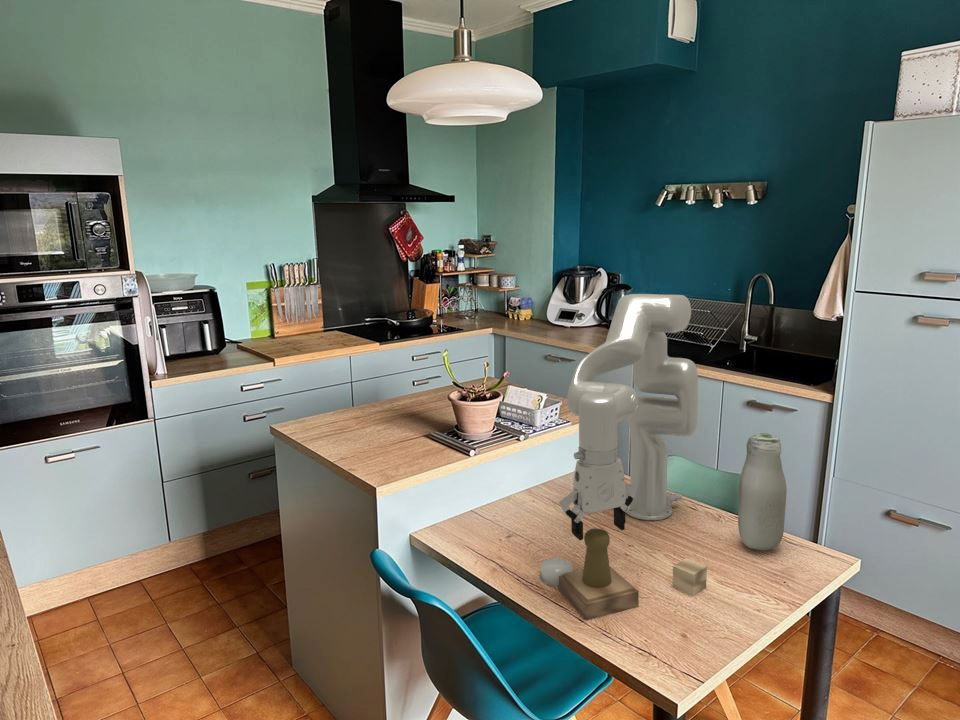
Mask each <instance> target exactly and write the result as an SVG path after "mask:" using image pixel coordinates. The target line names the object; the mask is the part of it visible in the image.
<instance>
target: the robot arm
mask: <svg viewBox="0 0 960 720" xmlns="http://www.w3.org/2000/svg"><path fill="white" fill-rule="evenodd" d="M689 300H690V299H688V297H687V296H685V295H683V294H657V293H655V294H654V293H653V294H652V293H631V294H626V295H623V296H621V297H620V298H619V299H618V301H617V304H616V306H615V310H614V313H613V317H612V320H611V323H610V327H609V330H608V332H607V336H606V339H605V342H604V343H602V344H601V345H599V346H597V347H596V348H595V349H593V350H592V351H590V352H589V353H588V354H587V355H586V356H585V357H583V359H582V360H580V361H579V362H578V364H577V366H576V367H575V370H574V373H573V376H572V378H571V381H570V384H569V387H568V392H567V398H566V399H567V400H566V401H567V407H568V408H567V409H568V410H569V411H570V413H571V414H572V415H574V416H577V417H578V449H577V450H578V451H577V452H574V453H573V458H574V459H575V460H576V464H575V466H574V467H575V468H574V474H573V484H572V485H573V487H572V492H570V493H569V494H567V495H566V496H564V498H562V499H561V500H559V502H558V505H559V506H560V508H561V510H562V512H563V513H564V514H565V515H566V516H567V517H568V518H570V519H571V521H570V522H571V533H572V535H573V536H574V537H575V538H576V539H577V540H579V541H582V540H584V522H583V521H582V519H583V517H584V516H585V514H587V515H591V514H595V513H600V512H605V511H609V510H613V525H614V527H617V528H618V529H619V530H620V531H625V530H626V529H625V528H626V527H625V525H626V514H627V515H628V516H629V517H632V518H634V519H639V520H642V521H643V520H644V521H661V520H664V519H667V518H669V517H670V516H672V514H673V507H672V505H671V504H672V503H673V502H680V501H682V500H683V496H682V494H681V493H674V494H672V493H673V492H671V491H668V454H669V453H668V447H667V444H666V442H665V441H664V439H663V437H662V436H661V435H663V436H664V435H665V436H673V437H682V438H683V437H690V436H692V435H694V433H695V432H696V430H697V426H698V405H699V404H698V401H699V400H698V399H699V398H698V397H699V395H698V394H699V380H698V379H699V377H698V375H699V372H698V367H697V366H696V364H695V362H694V361H692V360H691V359H689V358H683V357H671V356H669V355H668V338H667V335H666V333H669V334H671V333H672V334H673V333H675V334H676V333H679V332H682V331H684V330H685V329H686V328H687V327H688V325H689V323H690V320H691V317H692V306H691V303H690V301H689ZM630 365H632V380H633V384H634V385H633V386H634V387H635V388H633V387H632V386H630V385H627V384H624V383H623V384H622V383H610V382H600V381H594V380H595V379H596V378H597V377H600V376H601V375H603V374H607V373H609V372H613V371H616V370H619V369H622V368H625V367H627V366H630ZM636 390H637V391H638V392H642V393H647V394H654V395H655V394H657V395H666V396H667V395H669V396H674V397H676V398H673V397H672V398H671V397H664V396H662V397H661V396H650V395H649V396H648V395H646V396H645V395H642V396H641V395H640V396H638V394H637V392H636ZM626 421H627V423H628V427H629V429H628V430H629V437H630V438H629V440H630V463H629V464H630V469H629V470H630V474H629V475H630V477H629V478H630V479H629V480H630V481H629V483H626V478H625V477H626V476H625V472H624V466H623V463H622V459H621V458H620V457H618V424H620V423H623V422H626ZM572 503H573V505H574V506H573V507H572V509H571V508H570V505H571V504H572Z"/></svg>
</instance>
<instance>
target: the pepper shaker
mask: <svg viewBox="0 0 960 720" xmlns="http://www.w3.org/2000/svg"><path fill="white" fill-rule="evenodd" d="M610 539H611V538H610V535H609V533H608V531H606V530H605V529H602V528H597V527H596V528H591V529H588V530H587V531H586V532H585V534H584V535H583V541H584V544H585V546H586V550H585V558H584V564H583V569H584V570H583V577H582V581H583V583H584V584H586V585H587V586H590V587H594V588H603V587H607V586H609V585H610V584H611V582H612V581H611V573H610V567H611V566H610V561H609V560H610V559H609V552H608V547H609V545H610V541H611V540H610Z"/></svg>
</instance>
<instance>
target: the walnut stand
mask: <svg viewBox="0 0 960 720" xmlns="http://www.w3.org/2000/svg"><path fill="white" fill-rule="evenodd" d="M583 570H584V568H583V569H579V570H575V571H572V572H570V573H565V574H563V575H561V576H559V586H558V591H559V593H561V594H562V596H563V597H564V598H565V599H566V600H567V601H568V602H569V603H570V604H571V605H572V606H573V608H575V610H577V611H578V612H579V614H580V615H581V616H582V617H583V618H584V619H585V620H586V621H588V620H593V619H596V618H599V617H604V616H607V615H612V614H615V613H619V612H623V611H627V610H631V609H634V608H638V607H639V597H640V595H639V594H640V593H639V592H640V591H639V590H638V589H637V588H636V587H634V586H633V585H632V584H631V583H630V582H629V581H628V580H626V579H625V578H624V577H623V576H622V575H621V574H619V573H618V572H617V571H616V570H615V569H613V568H612V567H611V566H610V573H611V581H612V582H611V584H610V585H609V586H607V587H603V588H594V587H590V586H587V585H586V584H584V583H583V581H582V577H583Z"/></svg>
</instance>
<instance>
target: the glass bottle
mask: <svg viewBox="0 0 960 720" xmlns="http://www.w3.org/2000/svg"><path fill="white" fill-rule="evenodd" d="M781 452H782V444H781V440H780V438H779V437H777V436H776V435H774V434H770V433H766V432H761V433H755V434H752V435H750V437H749V438H748V440H747V441H746V456H745V460H744V463H743V467H742V470H741V471H740V472H741V473H740V476H739V480H738V481H739V482H738V515H737V525H738V527H737V528H738V534H739V537H740V539H741V542H742V543H743V544H744V545H745V546H747V547H748V548H749V549H753V550H757V551H769V550H773V549H775V548H776V547H778V546H779V545H780V544H781V542H782V541H783V537H784V531H785V520H786V518H785V517H786V507H787V490H788V489H787V482H786V476H785V473H784V470H783V464H782V458H781V454H782V453H781Z"/></svg>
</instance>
